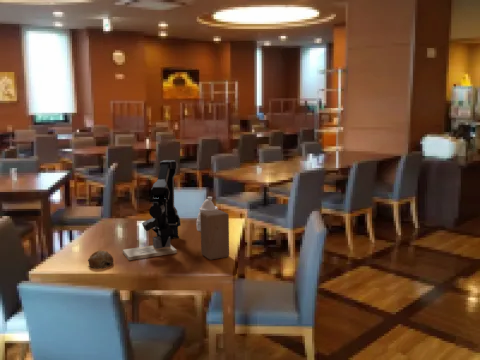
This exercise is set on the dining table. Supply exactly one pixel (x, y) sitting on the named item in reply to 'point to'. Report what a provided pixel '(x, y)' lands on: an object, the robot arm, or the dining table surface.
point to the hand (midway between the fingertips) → (162, 245)
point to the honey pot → (205, 206)
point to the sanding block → (158, 245)
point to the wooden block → (214, 234)
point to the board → (147, 252)
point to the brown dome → (100, 259)
